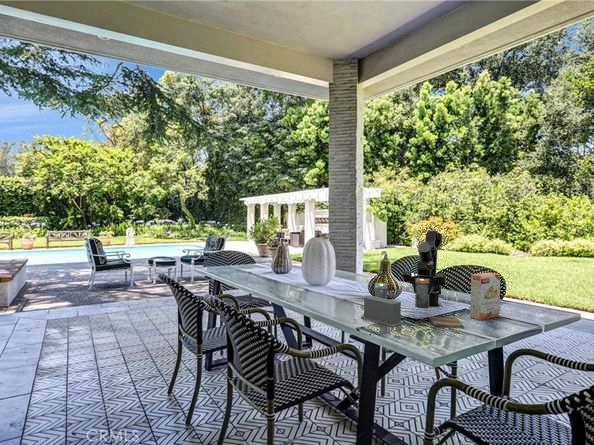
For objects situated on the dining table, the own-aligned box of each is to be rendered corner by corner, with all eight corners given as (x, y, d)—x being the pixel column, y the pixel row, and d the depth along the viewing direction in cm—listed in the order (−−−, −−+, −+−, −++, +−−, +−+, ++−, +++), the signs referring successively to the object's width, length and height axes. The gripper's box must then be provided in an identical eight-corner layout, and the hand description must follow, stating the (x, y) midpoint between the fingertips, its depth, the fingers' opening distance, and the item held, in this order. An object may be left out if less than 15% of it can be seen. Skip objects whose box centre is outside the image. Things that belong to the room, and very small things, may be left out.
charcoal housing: (371, 315, 181) (371, 295, 181) (403, 323, 168) (403, 302, 167) (361, 318, 176) (361, 297, 176) (393, 327, 162) (393, 305, 162)
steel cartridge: (385, 307, 196) (385, 282, 196) (388, 310, 190) (388, 285, 190) (373, 307, 196) (373, 282, 196) (376, 310, 190) (376, 285, 189)
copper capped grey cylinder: (423, 304, 175) (423, 276, 174) (432, 307, 169) (432, 279, 168) (412, 305, 173) (412, 277, 172) (420, 308, 167) (420, 280, 166)
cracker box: (480, 321, 172) (481, 276, 171) (469, 317, 177) (470, 274, 176) (500, 317, 178) (501, 273, 177) (488, 313, 183) (489, 271, 183)
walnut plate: (429, 318, 175) (429, 316, 175) (456, 320, 173) (456, 317, 173) (434, 326, 163) (434, 324, 163) (463, 328, 161) (463, 325, 161)
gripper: (403, 254, 178) (398, 281, 168) (445, 256, 169) (442, 284, 160) (406, 268, 185) (401, 294, 176) (446, 270, 177) (444, 298, 167)
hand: (421, 293), depth 169 cm, fingers closed on copper capped grey cylinder, 6 cm apart
